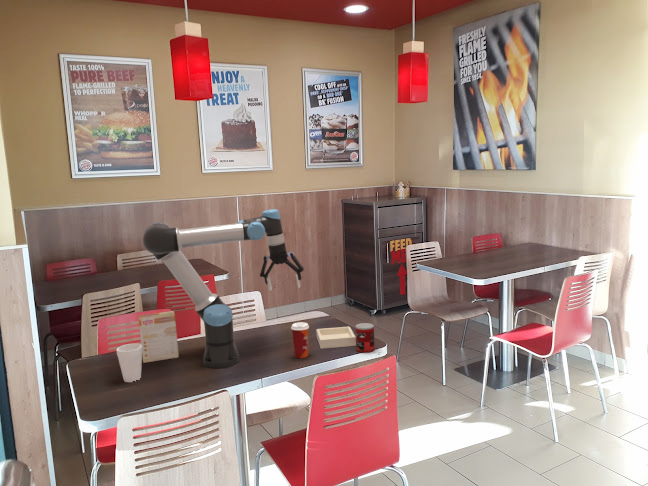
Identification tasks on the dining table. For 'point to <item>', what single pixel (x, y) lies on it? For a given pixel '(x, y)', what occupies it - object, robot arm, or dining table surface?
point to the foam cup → (130, 361)
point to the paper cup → (300, 339)
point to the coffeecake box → (158, 336)
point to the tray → (335, 337)
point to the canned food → (364, 337)
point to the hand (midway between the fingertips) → (285, 288)
